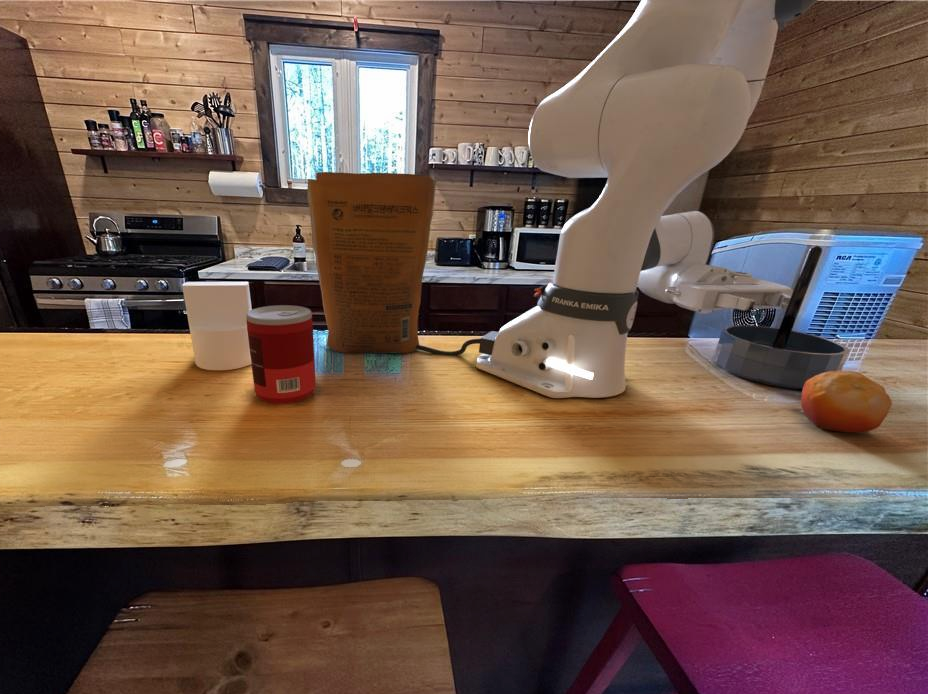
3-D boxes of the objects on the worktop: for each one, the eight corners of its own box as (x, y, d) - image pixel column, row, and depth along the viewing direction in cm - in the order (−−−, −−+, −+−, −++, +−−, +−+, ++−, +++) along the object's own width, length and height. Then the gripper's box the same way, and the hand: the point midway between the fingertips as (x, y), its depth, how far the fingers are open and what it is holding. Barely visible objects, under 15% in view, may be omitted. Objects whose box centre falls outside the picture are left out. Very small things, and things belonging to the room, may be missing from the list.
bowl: (705, 372, 72) (716, 337, 69) (718, 350, 83) (728, 320, 81) (836, 402, 62) (853, 362, 60) (830, 372, 74) (844, 338, 72)
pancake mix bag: (429, 357, 73) (439, 174, 62) (315, 355, 72) (304, 168, 61) (426, 345, 80) (434, 176, 69) (321, 343, 78) (312, 171, 67)
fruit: (848, 402, 59) (891, 364, 52) (864, 453, 54) (913, 418, 48) (778, 392, 61) (810, 355, 55) (787, 440, 57) (824, 406, 50)
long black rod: (750, 368, 72) (795, 245, 65) (752, 360, 76) (795, 243, 68) (790, 376, 69) (841, 248, 62) (790, 368, 73) (839, 246, 65)
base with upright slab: (189, 371, 64) (174, 289, 59) (202, 352, 72) (190, 278, 67) (254, 368, 66) (245, 289, 61) (259, 349, 74) (251, 278, 69)
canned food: (327, 387, 60) (324, 309, 56) (289, 410, 53) (281, 323, 49) (283, 377, 63) (277, 302, 59) (242, 397, 56) (231, 314, 52)
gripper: (663, 272, 80) (728, 285, 68) (752, 272, 85) (828, 285, 72) (655, 305, 83) (715, 325, 70) (742, 304, 87) (813, 322, 75)
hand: (773, 305), depth 71 cm, fingers open, 8 cm apart
